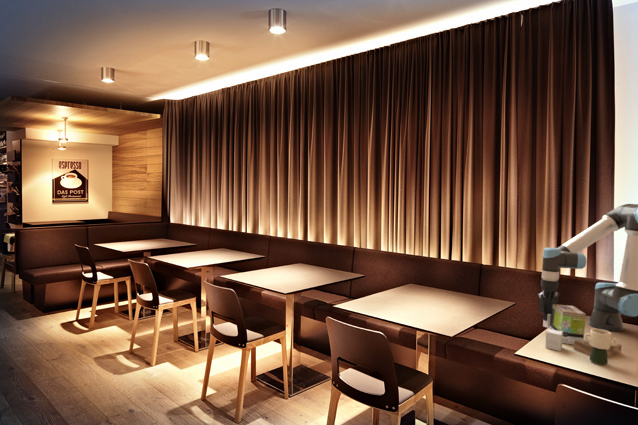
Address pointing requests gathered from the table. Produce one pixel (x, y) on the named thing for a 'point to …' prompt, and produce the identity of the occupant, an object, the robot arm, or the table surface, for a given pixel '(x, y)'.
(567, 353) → the table surface
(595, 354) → the character mug
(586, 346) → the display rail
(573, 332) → the tea box
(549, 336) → the skincare box
